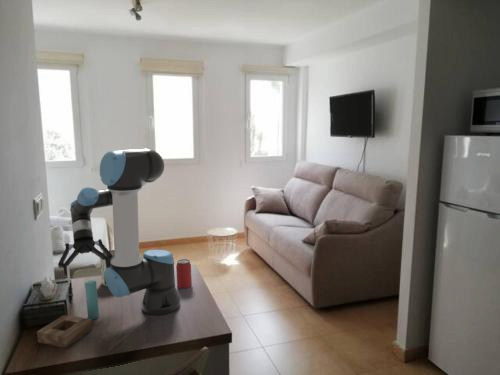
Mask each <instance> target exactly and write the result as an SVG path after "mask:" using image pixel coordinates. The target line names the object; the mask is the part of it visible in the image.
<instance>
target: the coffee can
mask: <svg viewBox="0 0 500 375" xmlns="http://www.w3.org/2000/svg"><path fill="white" fill-rule="evenodd" d="M108 251H109V252H110V253H111V254H112V258H113V257H114V256H115V250H114V249H111V250H108ZM102 253H103V254H104V255H106V254H105V253H104V252H103V251H102ZM99 259H100V269H101V271H100V272H101V284H102V285H103V286H105V287H108V286H107V284H106V281H105V276H104V273H105V272H104V265H103V259H101V258H100V257H99ZM108 262H109V267H111V260H109V261H108Z"/></svg>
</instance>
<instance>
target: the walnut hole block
mask: <svg viewBox="0 0 500 375" xmlns="http://www.w3.org/2000/svg"><path fill="white" fill-rule="evenodd" d="M91 331H92V319H88V318H85V317H80V316H79V317H78V316H73V315H68V314H63V315H62V316H60V317H58V318H57V319H55V320H53V321H52V322H50V323H49V324H46V325H45V326H43V327H42V328H41V329H39V330H38V331H36V334H37V342H38V344H43V345H48V346H54V347H58V348H63V349H67V348H69V347H70V346H72V345H73V344H74V343H76V342H77V341H78V340H80V339H81V338H82V337H84V336H85V335H86V334H88V333H89V332H91Z"/></svg>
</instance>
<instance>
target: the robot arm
mask: <svg viewBox="0 0 500 375" xmlns="http://www.w3.org/2000/svg"><path fill="white" fill-rule="evenodd" d="M164 170H165V162H164V159H163V157H162V156H161V155H160V153H159V152H157V151H155V150H154V149H151V148H135V149H133V148H132V149H116V150H111V151H110V150H109V151H107V152H106V153H105V154H103V156H102V158H101V160H100V163H99V177H100V180H101V182H102V184H103V185H105V186H106V187H107V188H105V189H100V190H99V189H98V190H97V189H96V188H94V187H92V186H91V187H90V186H85V187H83V188H81V190H80V191H79V193H78V195H77V197H76V200H74V201H73V202H71V203H70V210H69V211H70V217H71V229H72V233H73V234H72V235H73V236H72V237H73V243H72V244H69V243H66V244H65V248H64V251H63V253H62V255H61V257H60V259H59V261H58V264H57V267H58V268H59V269H60V268H62V269H63V275H64V276H67V284H71V275H70V273H71V272H70V264H71V263H72V262H73V260H74V259H75V258H76V257H77V256H78V255H79V254H81V255H83V254H87V253H88V254H89V253H90V252H91V253H92V254H94V255H95V256H97V257H98V258H99V259H100V258H101V259H103V265H104V272H105V273H104V276H105V281H106V284H107V286H106V287H108V290H109V291H110V293H111V294H112V295H113V296H114V297H117V298H122V297H126V296H127V297H128V296H130V295H131V294H135V293H137V292H140V291H144V290H145V291H144V295H143V297H142V298H143V299H142V302H141V307H142V308H141V309H142V311H143V312H144V313H146V314H148V315H152V316H160V315H161V316H162V315H166V314H170V313H173V312H175V311H177V310H178V309H179V308H180V306H181V298H180V296H179V293H178V290H177V289H176V281H175V280H176V279H175V278H176V276H175V259H174V255H173V253H172V252H171V251H169V250H164V249H150V250H146V251H144V252H143V254H142V255H141V253H140V244H139V242H140V239H139V238H140V237H139V201H138V200H139V197H138V193H139V192H140V191H141V189H142V188H143V187H144V186H145V185H146V184H149V183H153V182H155V181H156V180H158V179H159V178H160V177H161V176H162V175H163V173H164ZM111 206H112V221H113V243H114V244H113V246H114V249H113V250H115V256H114V257H113V258H112V254H111V253H110V252H109V251H110V250H109V249H108V248H107V247H106V246H105V244H103V240H102V239H101V238H99V239H98V240H94V233H93V227H92V220H91V213H92V212H93V210H94V209H99V208H105V207H111ZM95 245H96V246H97V247H99V249H100V250H101V251H100V250H98V249H97V248H96V247H95ZM72 249H73V252H72V253H71V254H70V255H69V253H70V251H71V250H72ZM103 252H104V253H105V254H106V255H104V254H103ZM68 255H69V256H68ZM67 257H68V258H67ZM109 260H111V267H109V262H108V261H109Z"/></svg>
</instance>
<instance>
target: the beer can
mask: <svg viewBox="0 0 500 375" xmlns="http://www.w3.org/2000/svg"><path fill="white" fill-rule="evenodd" d="M175 268H176V285H177V288H178V289H181V290H182V289H189V288H190V287H191V286H192V285H193V283H192V278H193V277H192V264H191V262H190V260H189V259H187V258H182V259H179V260H177V263H176V266H175Z"/></svg>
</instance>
